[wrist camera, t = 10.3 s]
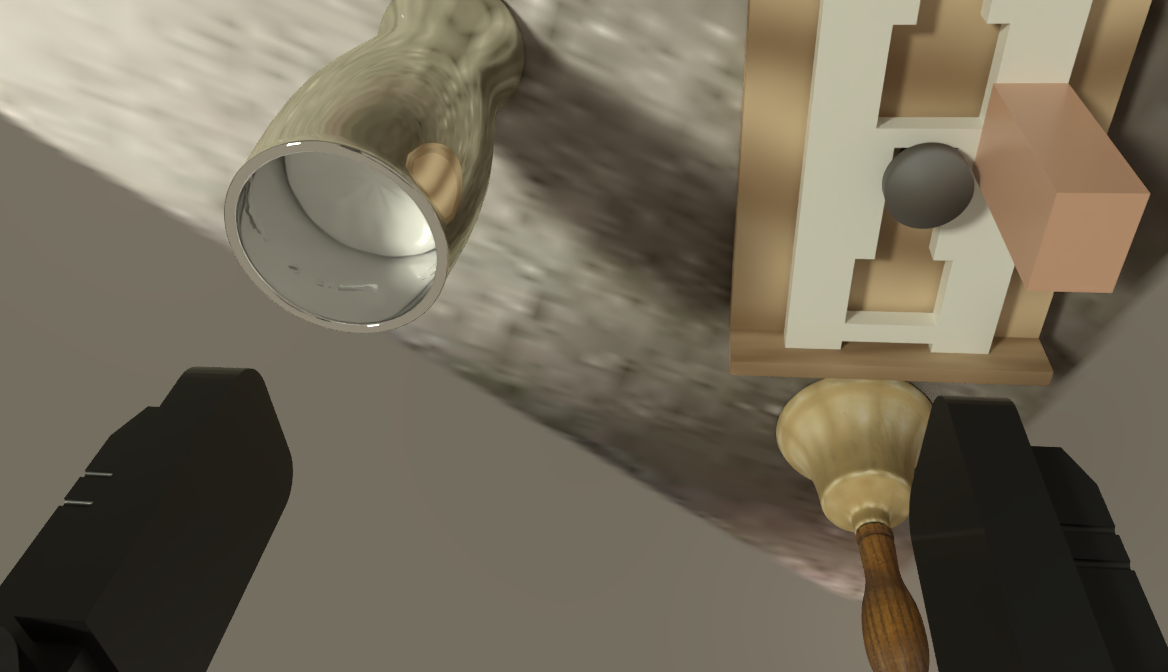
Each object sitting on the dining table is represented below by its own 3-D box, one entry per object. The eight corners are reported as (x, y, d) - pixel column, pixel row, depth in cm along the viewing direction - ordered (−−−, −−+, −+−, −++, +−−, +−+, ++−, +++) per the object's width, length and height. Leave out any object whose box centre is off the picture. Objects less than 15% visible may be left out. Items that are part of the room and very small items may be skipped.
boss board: (773, -407, 27) (780, -409, 24) (1274, -442, 26) (1362, -450, 22) (729, 323, 45) (730, 383, 41) (1025, 331, 43) (1052, 394, 40)
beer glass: (561, 9, 36) (488, 200, 24) (502, 151, 40) (415, 370, 29) (396, -70, 35) (236, 91, 23) (353, 85, 39) (200, 286, 27)
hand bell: (834, 347, 45) (879, 626, 33) (971, 410, 47) (1062, 699, 34) (746, 447, 50) (756, 721, 38) (872, 500, 52) (921, 781, 39)
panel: (838, -169, 29) (876, -100, 22) (1132, -179, 28) (1267, -110, 21) (783, 334, 43) (796, 476, 36) (983, 340, 41) (1037, 487, 34)
